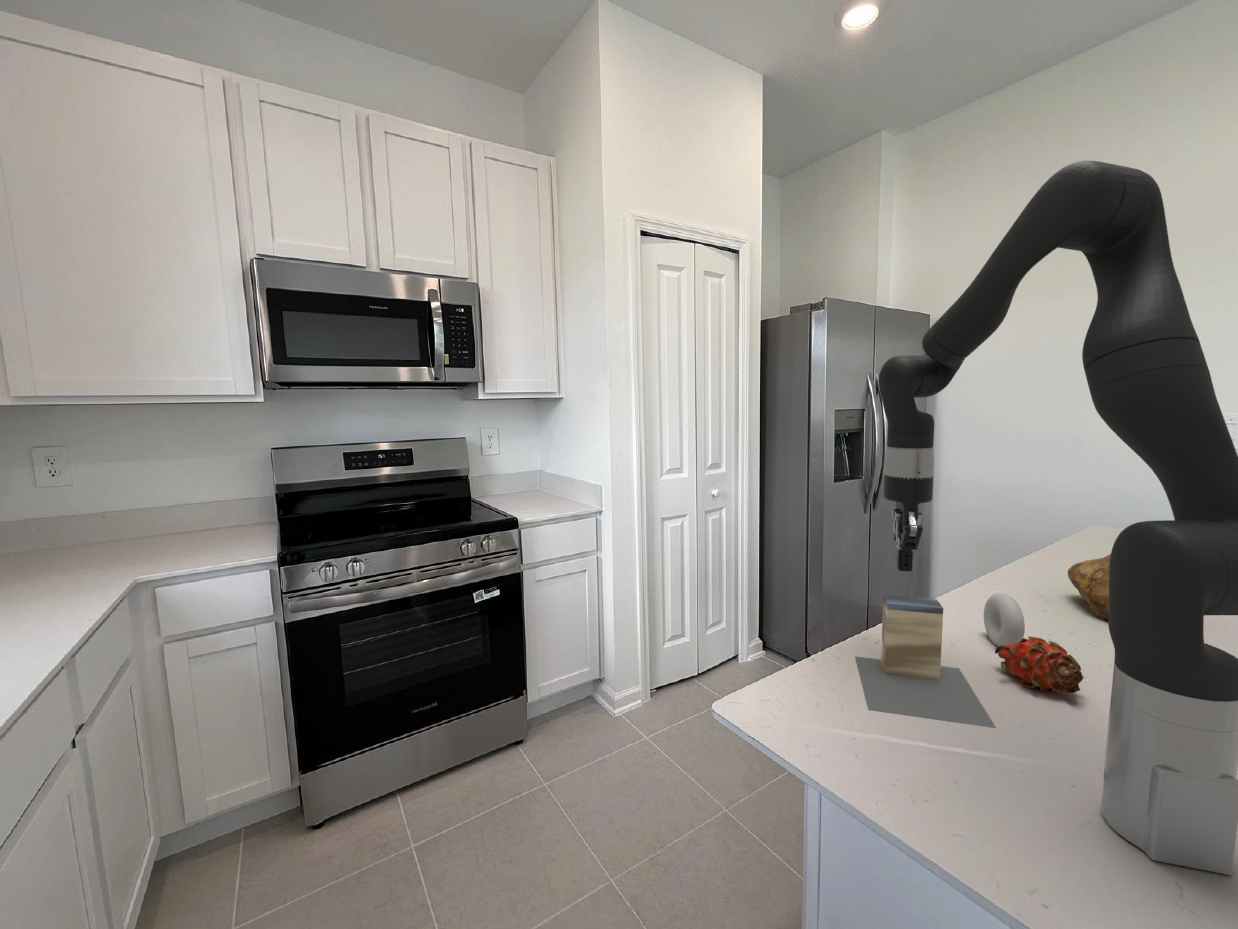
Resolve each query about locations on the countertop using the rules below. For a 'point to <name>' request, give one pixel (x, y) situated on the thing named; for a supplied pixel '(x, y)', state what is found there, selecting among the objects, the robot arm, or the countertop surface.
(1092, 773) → the countertop surface
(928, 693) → the rubber mat
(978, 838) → the countertop surface
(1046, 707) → the countertop surface
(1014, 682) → the countertop surface
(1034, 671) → the dragon fruit
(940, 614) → the maple block
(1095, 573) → the rough brown rock
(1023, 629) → the donut
